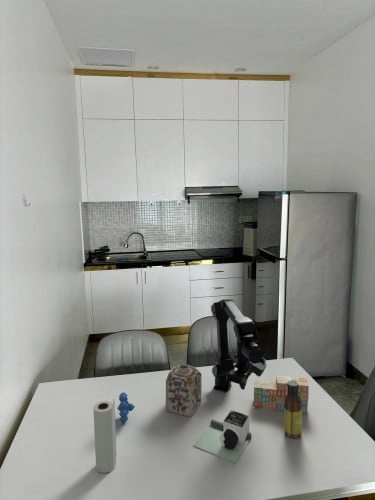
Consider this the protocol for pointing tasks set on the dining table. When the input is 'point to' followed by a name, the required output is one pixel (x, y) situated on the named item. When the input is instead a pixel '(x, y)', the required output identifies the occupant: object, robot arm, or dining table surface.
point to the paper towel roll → (105, 436)
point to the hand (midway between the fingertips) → (242, 389)
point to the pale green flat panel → (218, 445)
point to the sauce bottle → (292, 411)
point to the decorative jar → (183, 390)
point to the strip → (220, 426)
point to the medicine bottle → (234, 429)
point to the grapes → (124, 407)
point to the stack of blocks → (279, 393)
